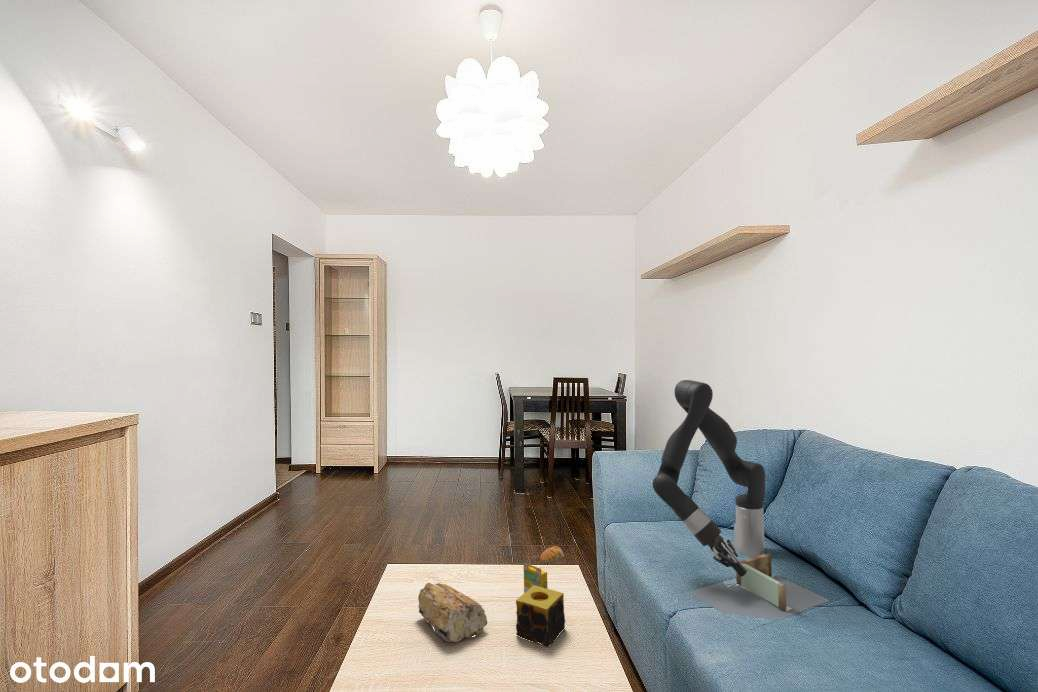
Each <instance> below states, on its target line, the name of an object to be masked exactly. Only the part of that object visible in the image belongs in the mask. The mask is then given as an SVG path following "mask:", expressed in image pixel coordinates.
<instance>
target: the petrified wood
mask: <svg viewBox="0 0 1038 692" xmlns="http://www.w3.org/2000/svg"><path fill="white" fill-rule="evenodd" d="M417 599H418V605H417V607H418V613H419V614H420V615H421V617H422V616H423V617H424V618H423V617H422V618H423V619H424V620H425V621H426V620H427V621H428V624H429V623H430V624H431V625H430V624H429V625H430V626H431V627H432V626H433V627H434V629H435V631H434V630H433V633H434V635H436V636H437V637H438V638H439V639H440V640H442V641H443V642H444V643H446V642H447V643H458V642H461V640H462V639H463V638H472V636H474V635H477V634H478V635H479V634H480V633H481V631H483V630H484V628H485V627H486V626H487V625H488V618H487V614H486V613H485V609H484V608H483V606H482V604H480V603H478V602H477V601H476V600H474V599H473V598H471V597H470V596H467V595H466V594H464V593H462V592H460V591H458V590H456V588H453V587H452V586H451V585H448V584H446V583H440V582H438V583H435V584H434V583H430V582H428V583H426V584H425V585H424V587H423V588H422V589H420V591H419V594H418V598H417ZM427 621H426V622H427ZM478 635H477V636H478Z"/></svg>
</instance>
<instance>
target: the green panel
mask: <svg viewBox="0 0 1038 692" xmlns="http://www.w3.org/2000/svg"><path fill="white" fill-rule="evenodd" d="M738 561H739V563H740V564H741V565H742V566H743V567H744V568H745V569H746V570H747V572H746V574H745V575H744V576H742V577H741V576H740V575H739V574H738V573H737V572H736V571H735V572H736V573H735V575H736V577H735V578H736V581H737V584H739V585H742V586H744V587H745V588H747V589H749V590H750V591H752V592H754V593H755V594H757V595H759V596H760V597H762V598H764V599H765V600H767V601H769V602H771V603H772V604H774V605H776V606H777V607H779V608H780V609H782V610H786V585H785V584H782V583H780V582H778V581H777V580H775V579H773V578H771V577H769V576H767V575H765V574H763V573H762V572H760V571H758V570H756V569H754V568H752V567H750V566H749V565H747V564H745V563H744V562H743V561H742V560H738Z"/></svg>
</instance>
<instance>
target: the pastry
mask: <svg viewBox="0 0 1038 692" xmlns="http://www.w3.org/2000/svg"><path fill="white" fill-rule="evenodd" d="M564 557H565V554H564V552H563V551H562V549H561V548H560V547H559V546H557V545H556V546H555V545H552V547H549V548H546V549H545V550H544V551H543V552H542V553H541V554H540V555H539V557H538V559H539V563H543V564H553V563H556V562H558V561H561V560H562V559H563V558H564Z"/></svg>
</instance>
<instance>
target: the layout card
mask: <svg viewBox="0 0 1038 692" xmlns="http://www.w3.org/2000/svg"><path fill="white" fill-rule="evenodd" d="M774 575H775V574H774ZM774 575H772V577H771V578H773V579H775V580H777V581H778V582H780V583H782V584H785V585H786V610H782V609H780V608H779V607H777V606H776V605H774V604H772V603H771V602H769V601H767V600H765V599H764V598H762V597H760V596H759V595H757V594H755V593H754V592H752V591H750V590H749V589H747V588H745V587H744V586H742V585H738V586H735V585H736V584H737V583H736V584H734V583H733V584H734V585H732V584H727V585H732V586H730V587H727V585H725V584H724V583H723V581H720V582H717V583H714V584H709V585H706V586H703V587H700V588H696V589H693V590H690V591H688V593H689V594H690V595H692V596H693V597H695V598H697V599H699V600H700V601H701V602H703V603H705V604H707V605H708V606H710V607H711V608H713V609H714V610H716V611H718V612H720V613H721V614H723V615H725V616H726V614H729V615H732V614H735V615H742V616H743V617H744V616H747V615H751V616H750V617H752V618H761V617H765V618H764V619H774V618H776V617H777V618H776V619H778V618H782V619H784V618H783V617H785V618H787V617H789V616H793V615H796V614H797V613H801V612H803V611H805V610H808V609H811V608H814V607H817V606H820V605H822V604H825V603H829V602H830V601H831V600H830V599H828V598H826V597H824V596H822V595H819V594H817V593H816V592H813V591H810V590H809V589H806V588H804V587H802V586H800V585H798V584H796V583H793V582H791V581H790V580H787V579H785V578H783V577H781V576H778V575H776V576H774ZM730 583H731V582H730ZM753 616H754V617H753ZM744 618H745V619H746V618H747V617H744ZM776 619H775V620H776ZM776 621H777V620H776Z"/></svg>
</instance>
